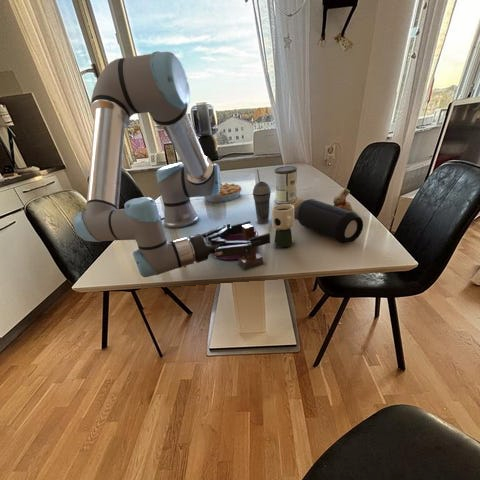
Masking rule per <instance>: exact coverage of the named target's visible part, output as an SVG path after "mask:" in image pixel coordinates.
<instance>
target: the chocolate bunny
mask: <svg viewBox="0 0 480 480" xmlns="http://www.w3.org/2000/svg"><path fill="white" fill-rule="evenodd" d="M350 193H351V191H350V190H349V189H348V187H343V188H342V190H340V192H339V193H338V194H337V195H334V197H333V202H332V203H333V206H336V207H339V208H342V209H345V210H348V211H351V212H353V207H352V204H351V202H349V201H347V196H348V195H350Z"/></svg>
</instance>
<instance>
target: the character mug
mask: <svg viewBox="0 0 480 480" xmlns="http://www.w3.org/2000/svg"><path fill="white" fill-rule="evenodd" d="M271 211H272V212H271V213H272V214H271V215H272V227H273V229H275V233H274V234H275V235H274V243H275V247H277V248H287V247H289V246H291V245H293V236H292V228H294V224H295V218H294V206H293V205H291V203H279V204H276V205H274V206H272V209H271Z"/></svg>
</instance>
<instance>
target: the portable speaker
mask: <svg viewBox="0 0 480 480" xmlns="http://www.w3.org/2000/svg"><path fill="white" fill-rule="evenodd" d="M304 200H305V201H303V202H301V203H300V205H299V206H298V208H297V211H296V217H297V218H296V220H297V221H298V223H299V224H300V225H301V226H303V227H306V228H308V229H310V230H313V231H315V232H317V233H319V234H321V235H323V236H325V237H328V238H330V239H333V240H334V241H336V242H339V243H341V244H349V243H354V242H355V241H357V239H358V238H359V237H360V235H361V234H362V232H363V228H364V221H363V218H361V216H360V215H359V214H357V213H356V212H354V211H348V210H345V209H342V208H339V207H336V206H333V205H334V204H333V205H332V204H329V203H326V202H323V201H320V200H317V199H314V198H310V199H304Z"/></svg>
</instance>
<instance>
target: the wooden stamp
mask: <svg viewBox="0 0 480 480" xmlns="http://www.w3.org/2000/svg"><path fill="white" fill-rule="evenodd" d="M254 230H255V226H254V225H253V224H252V223H251V224H246V225H243V226H242V236H243V241H248V239H250V238H253V237H255V233H254ZM251 250H252V253H250V254H244V256H241V257H238V259H237V260H238V265H239V266H240V267H241V268H242V269H243V270H245V271H246V270H249V269H252V268H255V267H258V266H261V265H263V264H264V257H263V256H262V255H261V254H260V253H258V251H256V247H255V248H251Z"/></svg>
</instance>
